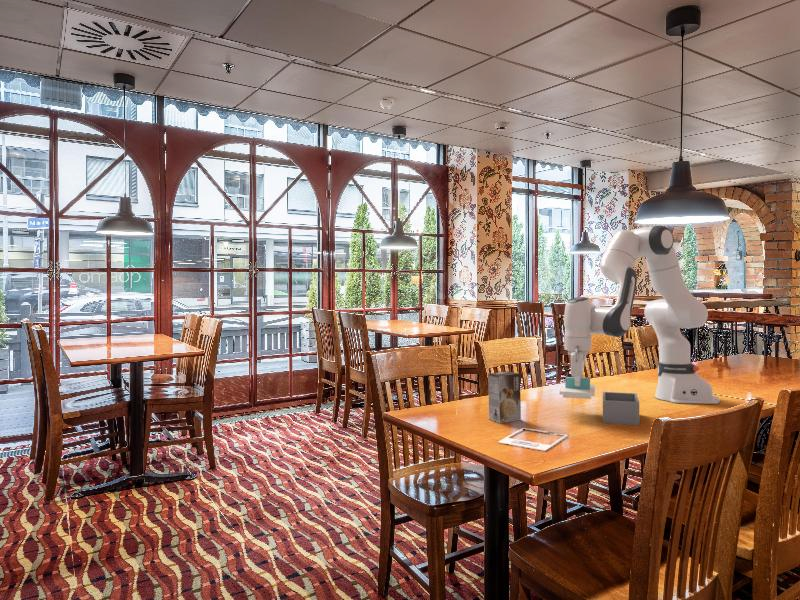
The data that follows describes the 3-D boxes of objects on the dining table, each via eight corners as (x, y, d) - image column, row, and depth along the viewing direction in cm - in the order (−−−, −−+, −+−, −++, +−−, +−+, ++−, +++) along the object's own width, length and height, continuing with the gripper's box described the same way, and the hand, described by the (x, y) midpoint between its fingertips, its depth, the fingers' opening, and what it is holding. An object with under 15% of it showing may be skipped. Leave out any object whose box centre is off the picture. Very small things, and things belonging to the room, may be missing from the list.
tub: (636, 416, 192) (636, 393, 192) (639, 427, 178) (639, 402, 177) (602, 414, 196) (602, 391, 195) (602, 425, 182) (602, 400, 181)
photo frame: (497, 441, 163) (523, 427, 178) (497, 444, 163) (523, 430, 178) (545, 449, 155) (568, 434, 169) (545, 453, 155) (568, 437, 169)
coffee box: (509, 416, 195) (509, 370, 194) (521, 420, 189) (521, 373, 189) (488, 419, 191) (487, 373, 190) (499, 423, 185) (499, 376, 184)
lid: (595, 391, 196) (595, 374, 196) (594, 399, 182) (594, 382, 182) (562, 389, 200) (562, 373, 200) (559, 397, 186) (559, 380, 186)
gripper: (586, 348, 180) (586, 391, 180) (588, 341, 199) (588, 380, 199) (566, 348, 182) (566, 390, 182) (569, 341, 201) (569, 379, 201)
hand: (577, 384), depth 191 cm, fingers closed on lid
